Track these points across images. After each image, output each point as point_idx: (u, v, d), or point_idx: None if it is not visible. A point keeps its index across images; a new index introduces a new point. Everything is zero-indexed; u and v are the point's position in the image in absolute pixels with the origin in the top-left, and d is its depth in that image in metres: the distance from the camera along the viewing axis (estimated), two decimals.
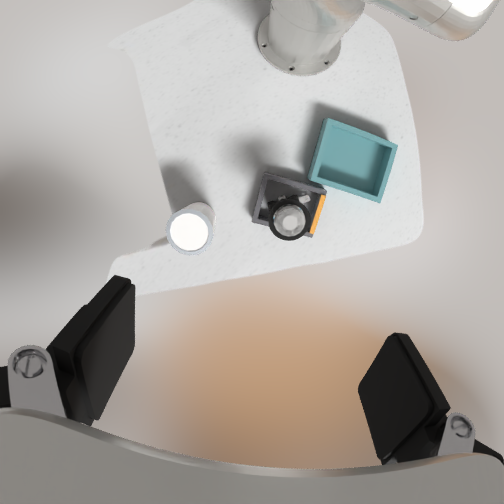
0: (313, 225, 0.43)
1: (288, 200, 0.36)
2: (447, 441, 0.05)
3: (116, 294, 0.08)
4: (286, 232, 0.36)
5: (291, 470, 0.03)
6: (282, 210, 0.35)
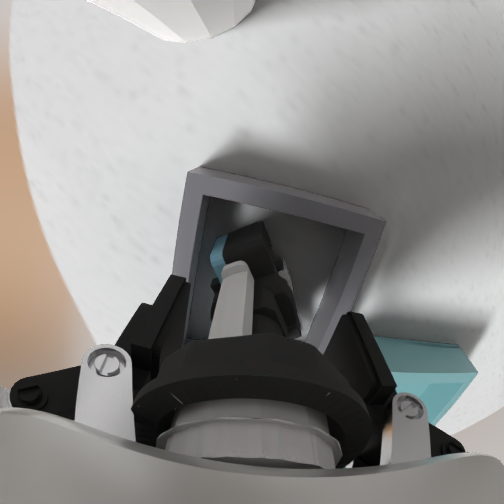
0: None
1: (364, 437, 0.05)
2: (398, 427, 0.05)
3: (178, 292, 0.09)
4: None
5: (291, 470, 0.03)
6: (325, 454, 0.04)
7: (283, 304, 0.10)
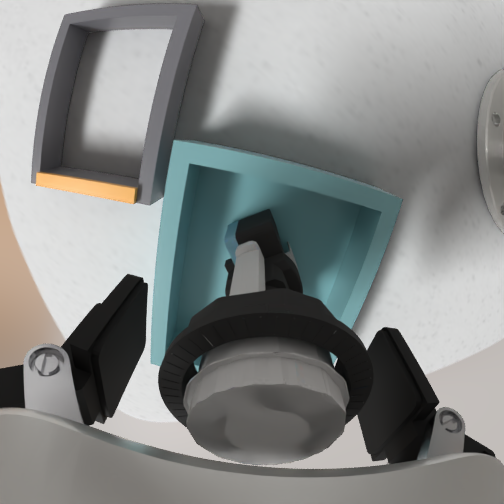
0: (52, 179, 0.12)
1: (368, 385, 0.06)
2: (437, 437, 0.05)
3: (130, 292, 0.08)
4: (207, 422, 0.05)
5: (291, 470, 0.03)
6: (335, 390, 0.05)
7: (290, 279, 0.11)
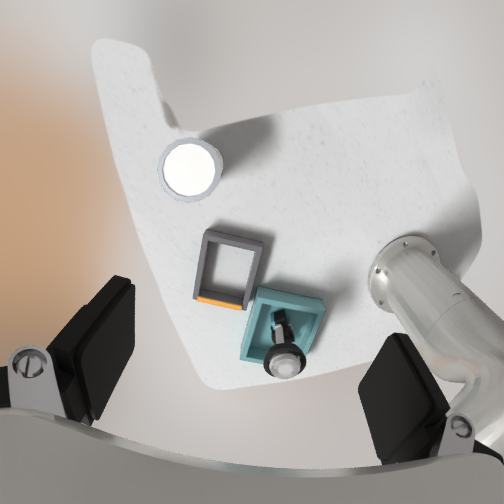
0: (206, 300, 0.39)
1: (305, 361, 0.34)
2: (447, 441, 0.05)
3: (116, 294, 0.08)
4: (275, 367, 0.33)
5: (291, 470, 0.03)
6: (297, 361, 0.33)
7: (290, 334, 0.39)
